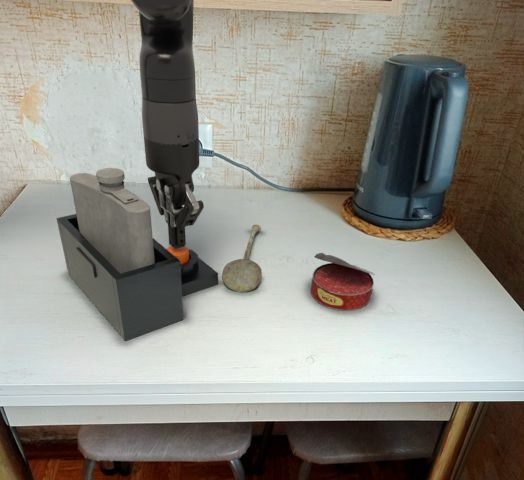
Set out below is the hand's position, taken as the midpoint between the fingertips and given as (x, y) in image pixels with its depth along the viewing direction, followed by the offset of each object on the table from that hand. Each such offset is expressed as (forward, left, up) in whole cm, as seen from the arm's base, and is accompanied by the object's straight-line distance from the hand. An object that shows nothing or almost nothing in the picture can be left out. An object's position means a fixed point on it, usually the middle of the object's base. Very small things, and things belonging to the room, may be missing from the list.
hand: (177, 245), depth 81 cm
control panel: (0, 0, -6) cm, 6 cm away
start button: (0, 0, -2) cm, 3 cm away
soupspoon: (+14, -1, -6) cm, 15 cm away
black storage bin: (-10, 0, -6) cm, 12 cm away
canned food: (+20, -18, -6) cm, 28 cm away
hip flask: (-10, -1, -6) cm, 12 cm away
